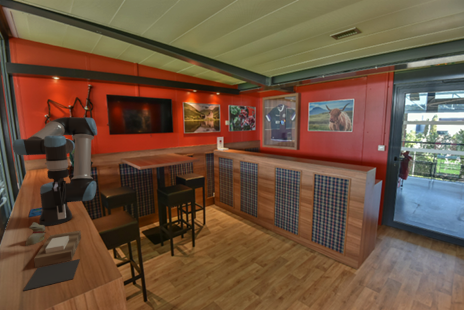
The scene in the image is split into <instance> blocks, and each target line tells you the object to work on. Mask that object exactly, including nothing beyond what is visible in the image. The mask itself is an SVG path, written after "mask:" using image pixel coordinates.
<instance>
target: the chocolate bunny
mask: <svg viewBox="0 0 464 310" xmlns="http://www.w3.org/2000/svg"><path fill="white" fill-rule="evenodd" d="M28 229H30V230H32V234H30V235H29V236H28V237H27V238H26V241H25V246H26V247H28V246H33V245H36V244H38V243H41V242H42V241H44V240H45V239H46V238H45V234H46V226H44V225H40V224H39V223H38V222H31V225H30V226H29V227H28Z"/></svg>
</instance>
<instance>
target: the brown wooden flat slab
mask: <svg viewBox="0 0 464 310" xmlns="http://www.w3.org/2000/svg"><path fill="white" fill-rule="evenodd" d="M81 232H82V231H81V230H75V231H67V232H63V233H56V234H50V235H49V237H48V238H47V240H45V242H44V243H43V245H42V246H41V248H40V249H39V250H38V252H37V254H36V255H35V257H34V258H33V261H34V268H35V269H37V268H39V267H44V266H49V265H54V264H58V263H63V262H68V261H72V260H73V258H74V256H75V254H76V251H77V249H78V246H79V244H80V241H81V239H82V234H81ZM64 236H69V241H68V243H67V245H66V247H65V249H64V250H61V251H55V252H50V253H46V250H45V249H46V247H47V246H48V244H49V243H50V241H51V240H52V238H58V237H64Z"/></svg>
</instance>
